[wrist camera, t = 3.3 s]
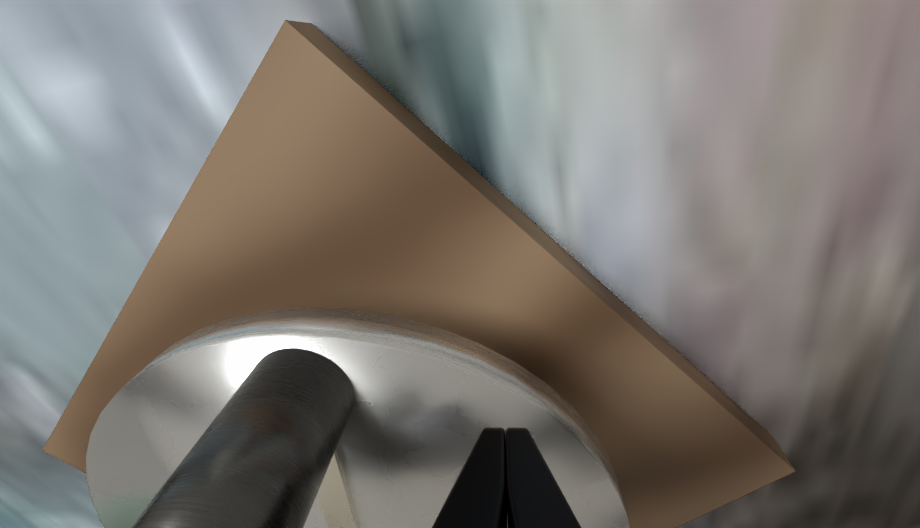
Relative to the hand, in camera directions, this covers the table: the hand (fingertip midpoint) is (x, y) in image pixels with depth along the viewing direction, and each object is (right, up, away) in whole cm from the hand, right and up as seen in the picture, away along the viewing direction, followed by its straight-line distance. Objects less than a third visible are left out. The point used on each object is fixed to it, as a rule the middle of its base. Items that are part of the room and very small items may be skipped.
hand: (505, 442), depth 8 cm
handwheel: (-4, -4, +7) cm, 9 cm away
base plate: (-4, -3, +9) cm, 10 cm away
